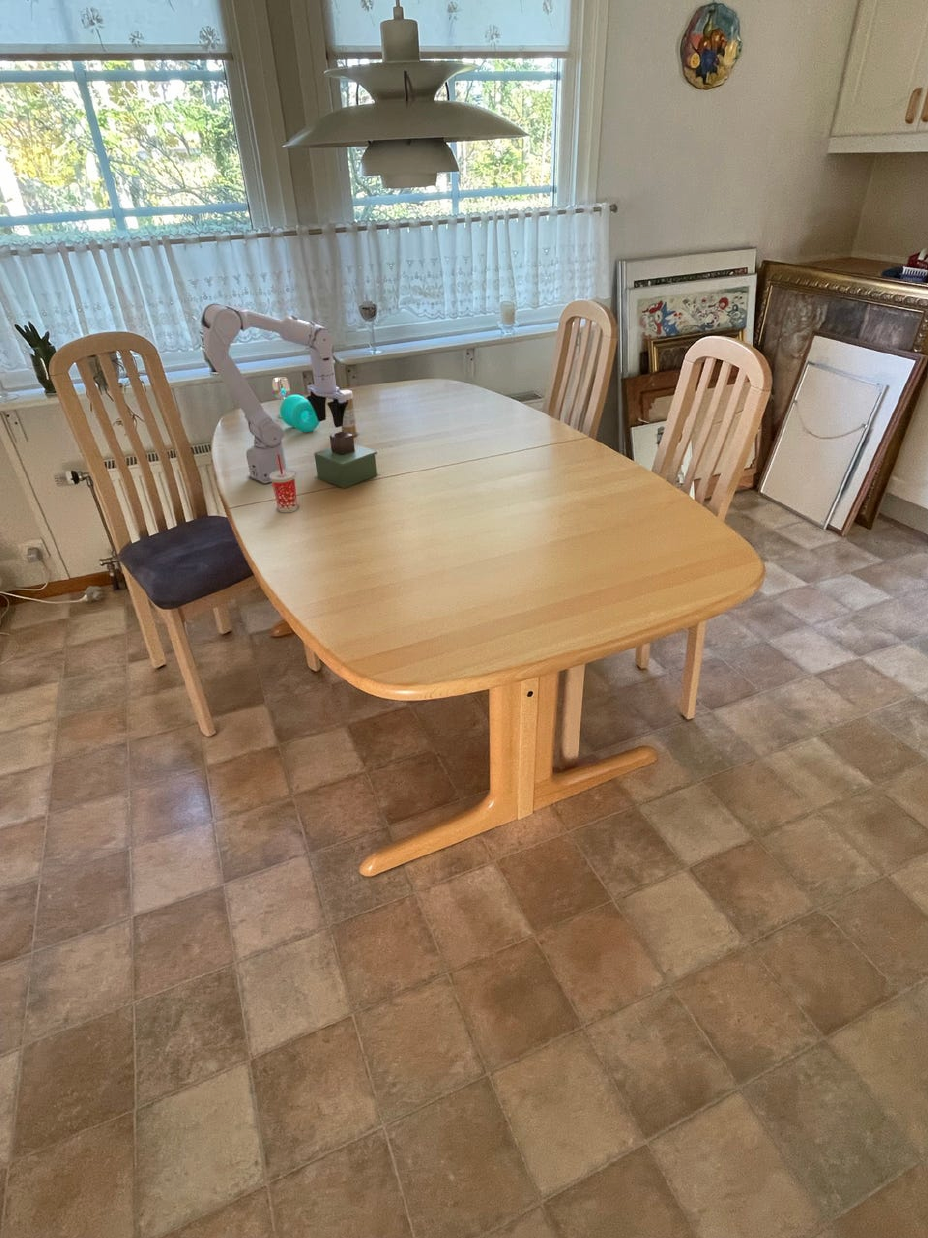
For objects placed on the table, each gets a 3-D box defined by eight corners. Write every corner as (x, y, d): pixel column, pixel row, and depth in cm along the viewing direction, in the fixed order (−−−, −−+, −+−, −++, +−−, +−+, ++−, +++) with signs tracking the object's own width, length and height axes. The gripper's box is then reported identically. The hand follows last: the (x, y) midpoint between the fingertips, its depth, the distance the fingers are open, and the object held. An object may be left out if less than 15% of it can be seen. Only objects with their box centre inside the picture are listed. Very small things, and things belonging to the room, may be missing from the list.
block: (341, 455, 182) (339, 439, 180) (331, 451, 185) (329, 435, 182) (354, 450, 185) (353, 434, 182) (344, 446, 188) (342, 431, 185)
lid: (377, 453, 185) (376, 451, 184) (342, 466, 178) (342, 464, 178) (348, 443, 192) (348, 440, 191) (314, 455, 185) (314, 452, 184)
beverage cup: (305, 508, 173) (296, 454, 165) (283, 516, 169) (273, 461, 161) (292, 500, 176) (282, 447, 168) (270, 508, 173) (260, 454, 165)
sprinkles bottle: (351, 431, 217) (347, 388, 210) (359, 435, 214) (355, 391, 207) (339, 435, 215) (333, 391, 207) (347, 439, 212) (341, 394, 204)
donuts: (296, 436, 215) (291, 404, 209) (281, 428, 221) (275, 397, 215) (324, 429, 220) (320, 397, 214) (309, 421, 226) (304, 390, 220)
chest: (377, 475, 189) (375, 453, 185) (343, 488, 182) (340, 466, 178) (351, 464, 195) (348, 443, 192) (317, 477, 188) (314, 455, 185)
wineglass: (276, 414, 233) (270, 377, 226) (293, 412, 234) (288, 375, 227) (278, 419, 228) (271, 382, 221) (295, 417, 230) (289, 380, 223)
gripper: (352, 374, 184) (358, 425, 191) (319, 365, 192) (325, 414, 200) (331, 380, 179) (337, 432, 187) (298, 371, 188) (305, 420, 195)
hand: (330, 423), depth 193 cm, fingers open, 7 cm apart
